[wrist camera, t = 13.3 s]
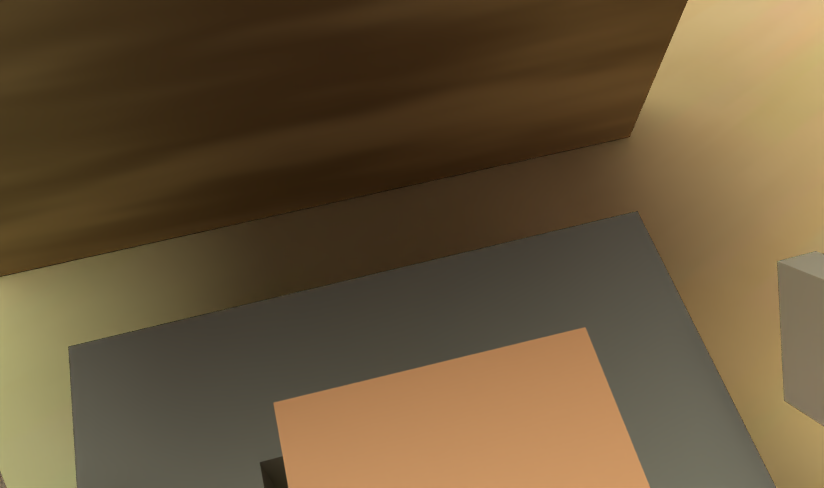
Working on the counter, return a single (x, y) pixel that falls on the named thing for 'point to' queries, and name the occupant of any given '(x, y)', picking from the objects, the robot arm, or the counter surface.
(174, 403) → the socket
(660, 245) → the counter surface
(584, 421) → the peg
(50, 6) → the wooden l-shaped bracket
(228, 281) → the counter surface
